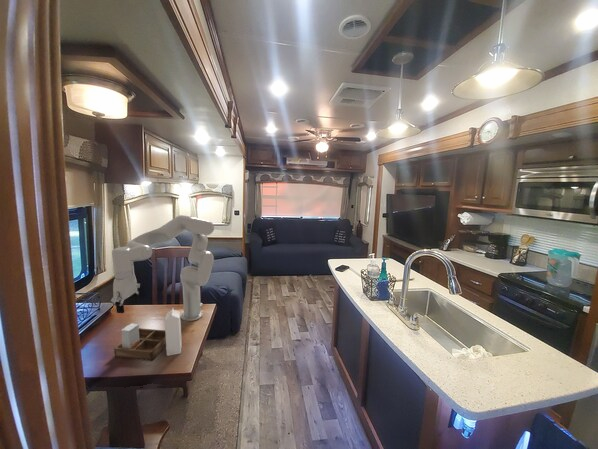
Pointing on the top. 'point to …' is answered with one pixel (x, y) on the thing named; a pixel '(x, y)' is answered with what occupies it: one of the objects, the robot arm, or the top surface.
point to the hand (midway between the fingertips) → (128, 307)
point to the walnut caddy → (144, 346)
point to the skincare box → (130, 336)
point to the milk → (173, 332)
